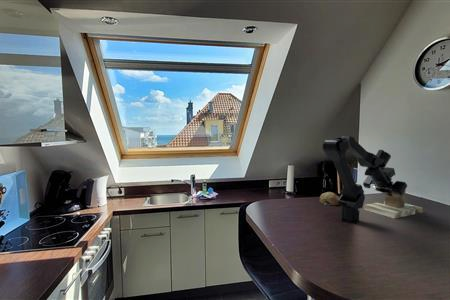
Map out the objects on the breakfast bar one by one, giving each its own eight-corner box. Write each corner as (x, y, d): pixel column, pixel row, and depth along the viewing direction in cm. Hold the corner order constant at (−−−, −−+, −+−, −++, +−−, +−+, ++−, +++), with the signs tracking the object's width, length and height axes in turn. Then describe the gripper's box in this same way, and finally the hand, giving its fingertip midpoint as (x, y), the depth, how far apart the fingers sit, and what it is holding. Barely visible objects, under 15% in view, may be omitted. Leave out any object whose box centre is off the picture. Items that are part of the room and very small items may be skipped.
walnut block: (396, 208, 130) (398, 187, 129) (384, 204, 135) (385, 185, 135) (404, 206, 133) (405, 186, 132) (392, 203, 138) (393, 184, 137)
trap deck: (394, 218, 122) (394, 213, 122) (364, 209, 136) (364, 204, 135) (422, 212, 132) (422, 207, 132) (391, 204, 145) (392, 200, 145)
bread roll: (318, 209, 147) (317, 197, 144) (321, 198, 155) (320, 186, 152) (338, 212, 143) (338, 200, 139) (340, 200, 151) (340, 188, 147)
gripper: (406, 164, 120) (419, 186, 126) (367, 160, 137) (380, 180, 143) (394, 183, 117) (408, 205, 123) (356, 176, 134) (370, 196, 140)
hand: (390, 195), depth 132 cm, fingers closed
